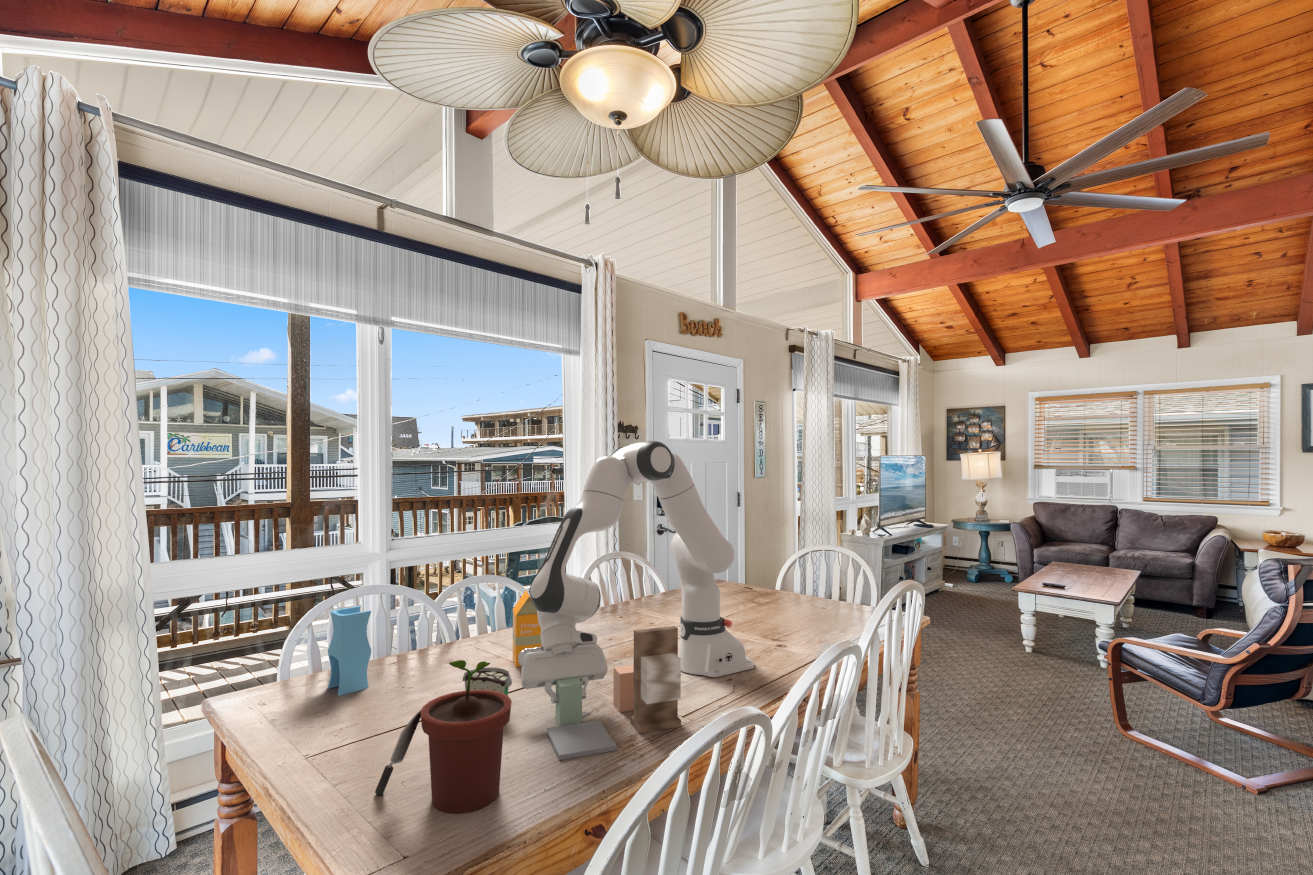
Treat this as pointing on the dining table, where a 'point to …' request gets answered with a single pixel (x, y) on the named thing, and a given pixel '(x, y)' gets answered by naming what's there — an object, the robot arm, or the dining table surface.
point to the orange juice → (525, 627)
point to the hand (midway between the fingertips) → (569, 700)
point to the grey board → (580, 740)
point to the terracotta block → (623, 688)
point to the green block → (569, 701)
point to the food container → (489, 680)
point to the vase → (349, 650)
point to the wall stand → (656, 679)
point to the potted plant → (460, 746)
